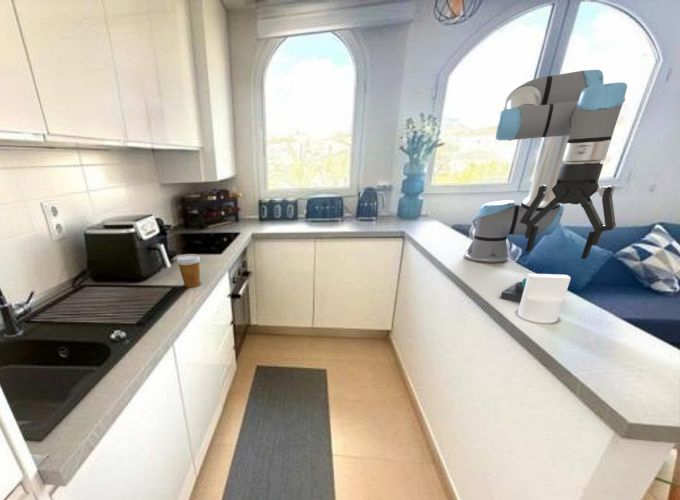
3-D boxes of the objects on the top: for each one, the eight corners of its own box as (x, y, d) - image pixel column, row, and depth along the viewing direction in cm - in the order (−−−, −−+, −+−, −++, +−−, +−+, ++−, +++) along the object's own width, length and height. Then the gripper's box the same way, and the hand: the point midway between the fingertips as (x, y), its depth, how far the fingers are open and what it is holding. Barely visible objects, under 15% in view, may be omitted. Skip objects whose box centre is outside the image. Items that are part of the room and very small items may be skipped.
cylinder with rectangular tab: (523, 321, 95) (534, 280, 90) (513, 308, 102) (523, 270, 97) (563, 324, 92) (577, 282, 87) (550, 310, 99) (562, 271, 94)
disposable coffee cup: (208, 281, 146) (204, 254, 141) (195, 289, 138) (190, 260, 133) (189, 280, 150) (185, 253, 145) (176, 287, 142) (171, 259, 137)
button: (524, 283, 110) (525, 277, 109) (539, 286, 107) (540, 280, 106) (519, 286, 108) (520, 280, 107) (534, 289, 105) (536, 283, 104)
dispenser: (515, 288, 116) (518, 277, 114) (552, 295, 108) (555, 284, 107) (500, 298, 110) (503, 286, 108) (537, 307, 102) (541, 294, 100)
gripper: (517, 165, 87) (499, 249, 96) (651, 161, 70) (612, 265, 79) (529, 163, 91) (510, 244, 100) (658, 159, 73) (621, 258, 83)
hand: (555, 253), depth 89 cm, fingers open, 11 cm apart
